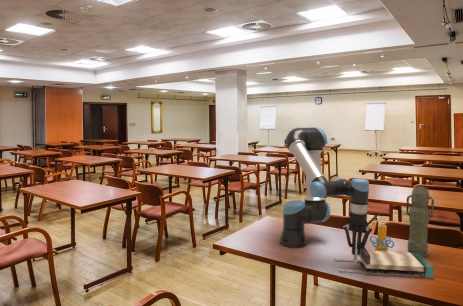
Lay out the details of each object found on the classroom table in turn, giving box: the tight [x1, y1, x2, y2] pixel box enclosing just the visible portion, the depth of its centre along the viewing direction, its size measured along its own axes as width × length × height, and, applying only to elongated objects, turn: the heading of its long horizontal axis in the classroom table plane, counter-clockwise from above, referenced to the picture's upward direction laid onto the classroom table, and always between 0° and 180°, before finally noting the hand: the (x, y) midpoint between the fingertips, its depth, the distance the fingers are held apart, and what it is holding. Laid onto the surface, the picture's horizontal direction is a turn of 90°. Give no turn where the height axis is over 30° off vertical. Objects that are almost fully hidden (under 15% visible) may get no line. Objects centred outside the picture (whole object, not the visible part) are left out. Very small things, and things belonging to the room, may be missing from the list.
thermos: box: [405, 185, 435, 259], centre depth 168 cm, size 9×12×35 cm
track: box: [334, 253, 435, 279], centre depth 154 cm, size 39×16×5 cm, turn 82°
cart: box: [358, 246, 424, 274], centre depth 153 cm, size 24×16×8 cm, turn 82°
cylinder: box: [369, 224, 395, 252], centre depth 170 cm, size 12×10×15 cm
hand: (355, 261), depth 156 cm, fingers closed
